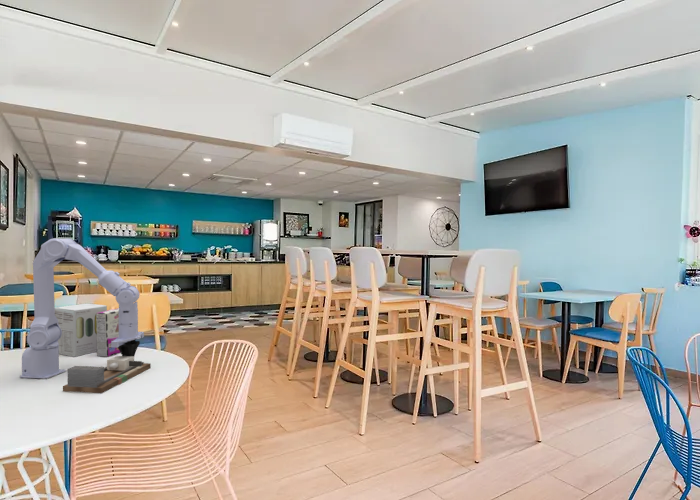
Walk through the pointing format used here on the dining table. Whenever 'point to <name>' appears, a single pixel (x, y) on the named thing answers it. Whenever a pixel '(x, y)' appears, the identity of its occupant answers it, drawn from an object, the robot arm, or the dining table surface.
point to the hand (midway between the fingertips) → (128, 363)
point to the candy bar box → (107, 332)
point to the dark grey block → (85, 376)
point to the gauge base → (111, 379)
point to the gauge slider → (122, 363)
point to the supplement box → (78, 328)
